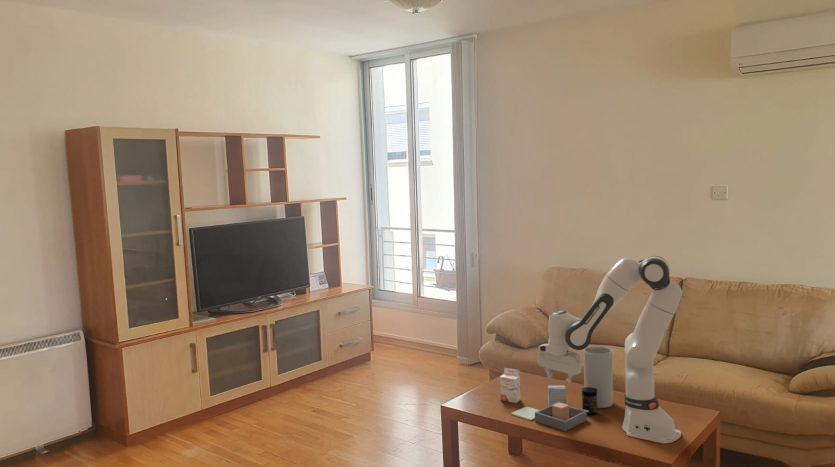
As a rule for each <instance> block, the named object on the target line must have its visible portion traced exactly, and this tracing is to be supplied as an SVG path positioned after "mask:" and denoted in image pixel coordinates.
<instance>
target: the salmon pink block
mask: <svg viewBox="0 0 835 467" xmlns="http://www.w3.org/2000/svg"><path fill="white" fill-rule="evenodd" d="M569 406H570V405H569V404H567V403H566V404H564V403H560V402H559V403H556V404H554V405H552V415H551V417H554V418H557V419H561V420H564V421H566V420H568V419H570V416H569Z"/></svg>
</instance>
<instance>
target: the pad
mask: <svg viewBox="0 0 835 467" xmlns="http://www.w3.org/2000/svg"><path fill="white" fill-rule="evenodd" d="M539 410H540V409H537V408H532V407H531V406H524V407H521V408H520V409H519V408H518V409H517V410H515V411H513V412H510V414H511V416H512V415H513V416H514V417H518V418H521V419H524V420H527V421H530V422H531V421H535V412H537V411H539Z"/></svg>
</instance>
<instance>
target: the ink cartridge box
mask: <svg viewBox="0 0 835 467" xmlns="http://www.w3.org/2000/svg"><path fill="white" fill-rule="evenodd" d="M499 389H500V390H499V391H500V392H499V395H500V401H502V402H504V401H505V402H509V403H512V404H513V403H515V404H517V403H518V402H520V401H521V377H520V369H515V368H510V367H509V368H507V367H503V374H501V375H500V376H499Z"/></svg>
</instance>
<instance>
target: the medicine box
mask: <svg viewBox="0 0 835 467" xmlns="http://www.w3.org/2000/svg"><path fill="white" fill-rule="evenodd" d="M559 402H560V403H564V404H567V389H566V386H565V385H547V405H548V406H550V405H552V404H554V403H559Z"/></svg>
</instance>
